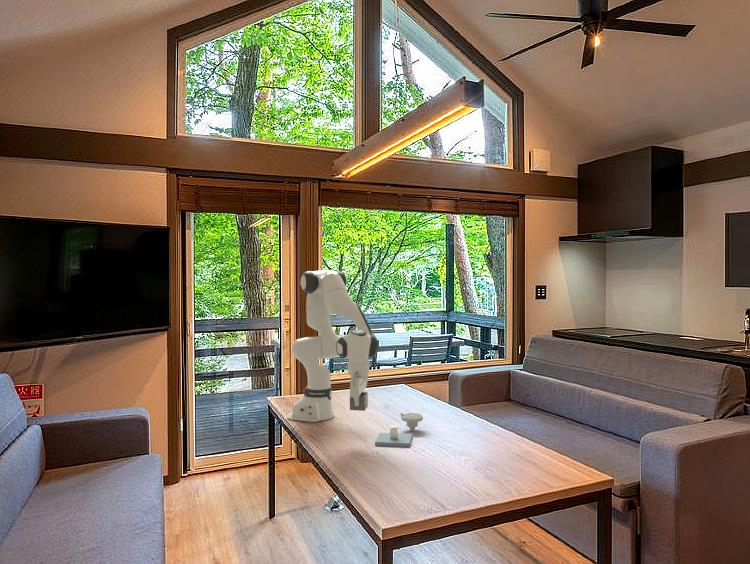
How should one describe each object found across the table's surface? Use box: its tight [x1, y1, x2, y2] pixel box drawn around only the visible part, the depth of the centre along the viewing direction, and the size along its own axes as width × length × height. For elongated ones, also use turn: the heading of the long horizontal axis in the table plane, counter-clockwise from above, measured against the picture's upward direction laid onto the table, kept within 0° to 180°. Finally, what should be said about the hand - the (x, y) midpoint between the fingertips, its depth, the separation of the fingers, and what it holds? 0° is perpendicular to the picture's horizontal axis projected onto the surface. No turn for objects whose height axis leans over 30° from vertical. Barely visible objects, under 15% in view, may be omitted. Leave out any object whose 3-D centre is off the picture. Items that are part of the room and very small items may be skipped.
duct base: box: [374, 425, 413, 448], centre depth 216 cm, size 14×12×6 cm
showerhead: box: [399, 412, 424, 432], centre depth 231 cm, size 9×7×10 cm
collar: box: [349, 391, 369, 412], centre depth 215 cm, size 6×6×6 cm
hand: (358, 403), depth 215 cm, fingers closed on collar, 6 cm apart
